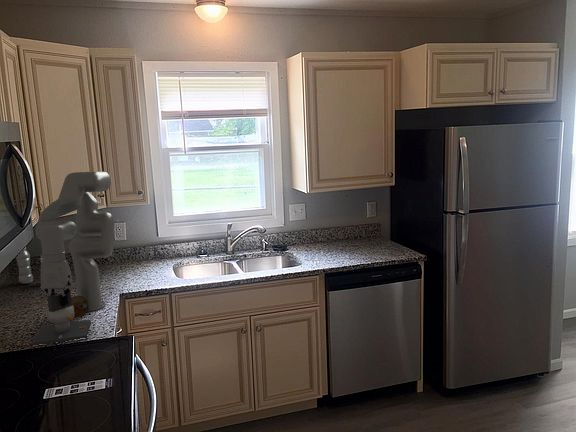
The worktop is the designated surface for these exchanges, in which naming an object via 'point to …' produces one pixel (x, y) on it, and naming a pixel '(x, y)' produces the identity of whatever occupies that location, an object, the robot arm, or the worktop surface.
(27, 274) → the plastic bottle
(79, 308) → the tin
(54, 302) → the rotary knob
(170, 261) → the worktop surface
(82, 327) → the mount
